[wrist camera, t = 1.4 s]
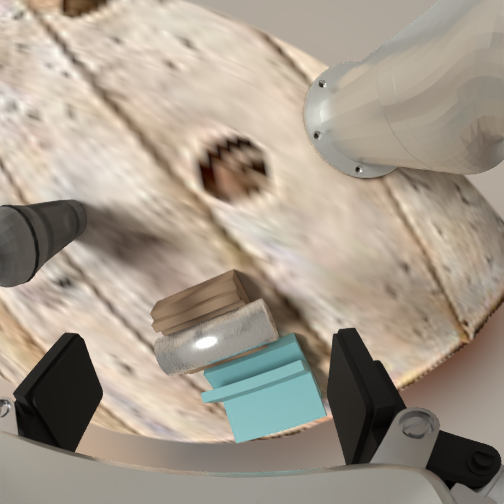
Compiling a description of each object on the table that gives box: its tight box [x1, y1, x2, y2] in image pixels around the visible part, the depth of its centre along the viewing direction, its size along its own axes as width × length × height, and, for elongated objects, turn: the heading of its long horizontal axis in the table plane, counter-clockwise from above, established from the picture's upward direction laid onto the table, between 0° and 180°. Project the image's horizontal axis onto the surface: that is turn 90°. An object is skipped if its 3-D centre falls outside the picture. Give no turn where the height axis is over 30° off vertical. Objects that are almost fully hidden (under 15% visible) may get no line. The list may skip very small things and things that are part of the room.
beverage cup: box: [0, 200, 87, 287], centre depth 22 cm, size 7×7×20 cm
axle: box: [154, 298, 279, 376], centre depth 31 cm, size 12×4×4 cm, turn 114°
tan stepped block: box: [150, 269, 268, 374], centre depth 34 cm, size 10×9×4 cm
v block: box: [201, 333, 327, 443], centre depth 36 cm, size 12×10×6 cm
